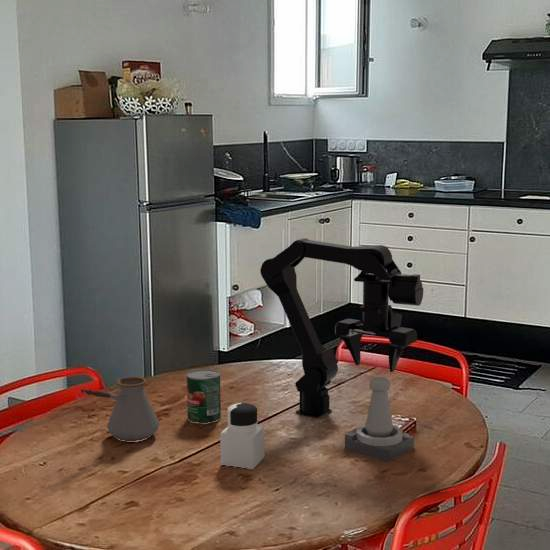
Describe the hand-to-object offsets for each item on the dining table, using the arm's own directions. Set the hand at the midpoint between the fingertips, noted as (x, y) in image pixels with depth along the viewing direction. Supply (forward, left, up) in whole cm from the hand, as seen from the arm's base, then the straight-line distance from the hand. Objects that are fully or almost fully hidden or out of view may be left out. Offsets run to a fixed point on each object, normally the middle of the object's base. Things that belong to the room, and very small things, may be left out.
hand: (374, 368), depth 196 cm
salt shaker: (+9, -13, -11) cm, 19 cm away
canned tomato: (-33, -22, -13) cm, 42 cm away
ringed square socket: (+9, -13, -13) cm, 21 cm away
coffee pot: (-37, -45, -13) cm, 60 cm away
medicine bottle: (-9, -36, -13) cm, 39 cm away
